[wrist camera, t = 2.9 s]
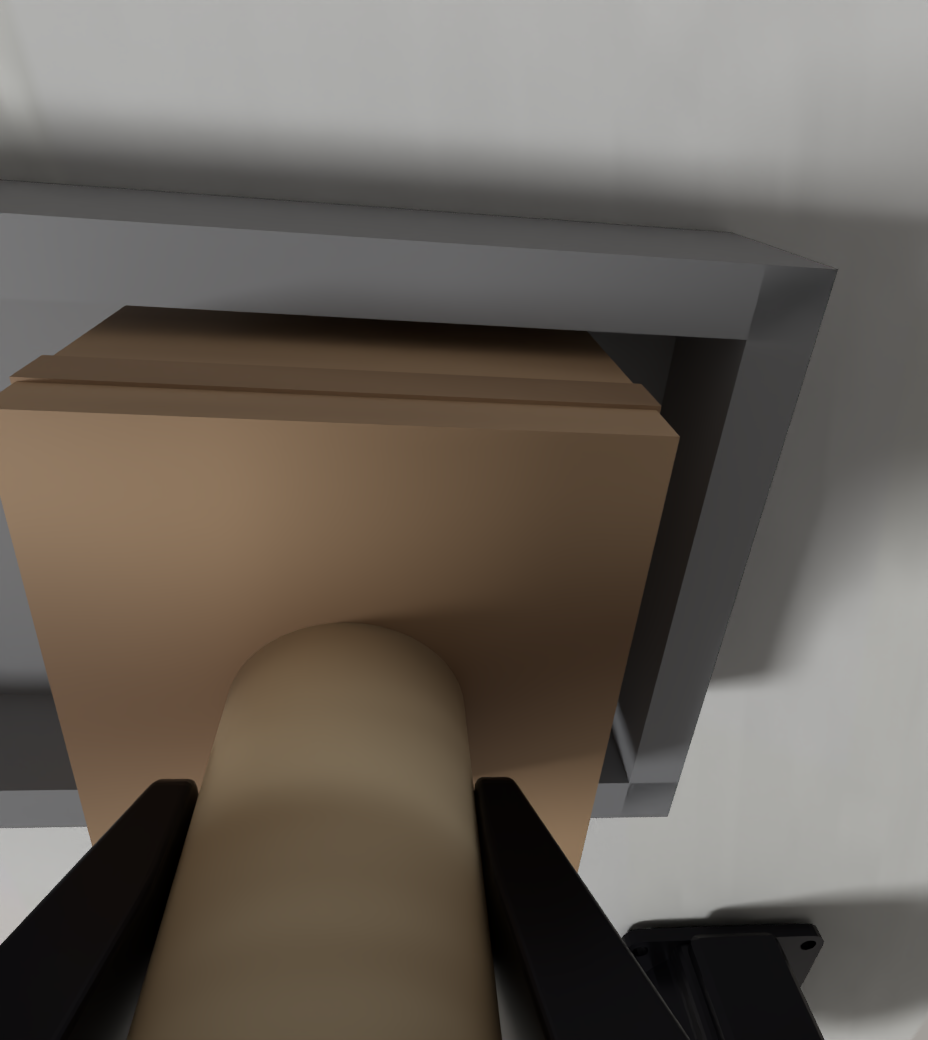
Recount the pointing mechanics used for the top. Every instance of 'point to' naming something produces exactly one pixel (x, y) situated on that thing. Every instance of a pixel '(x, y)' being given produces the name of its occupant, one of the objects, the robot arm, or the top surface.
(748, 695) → the top surface
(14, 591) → the bay
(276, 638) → the tan block with peg
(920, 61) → the top surface
